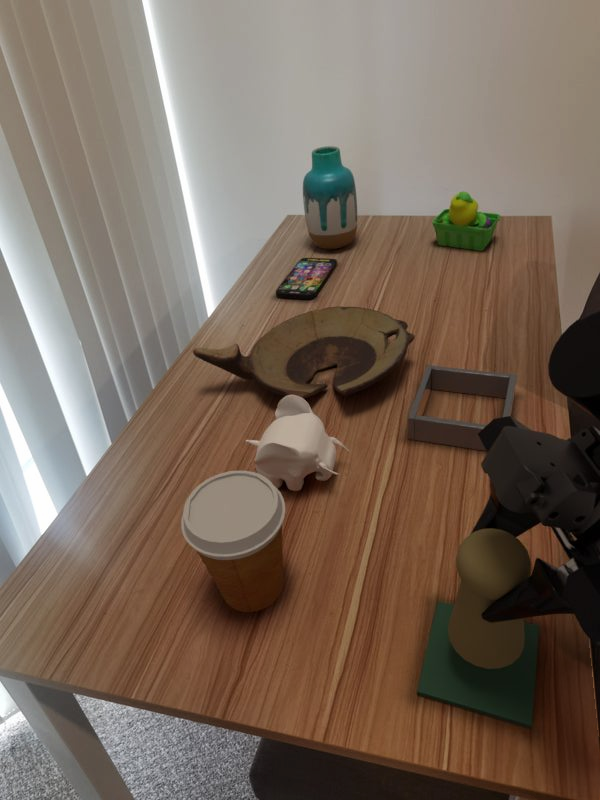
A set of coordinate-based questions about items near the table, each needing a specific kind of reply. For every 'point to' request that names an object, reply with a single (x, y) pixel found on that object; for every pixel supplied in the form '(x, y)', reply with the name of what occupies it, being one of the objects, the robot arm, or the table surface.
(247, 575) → the disposable coffee cup
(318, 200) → the vase
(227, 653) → the table surface
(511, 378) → the holder
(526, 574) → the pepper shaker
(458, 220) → the fruit basket
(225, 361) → the brown shallow dish
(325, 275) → the smartphone
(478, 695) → the coaster
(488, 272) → the table surface
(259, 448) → the elephant figurine
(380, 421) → the table surface
